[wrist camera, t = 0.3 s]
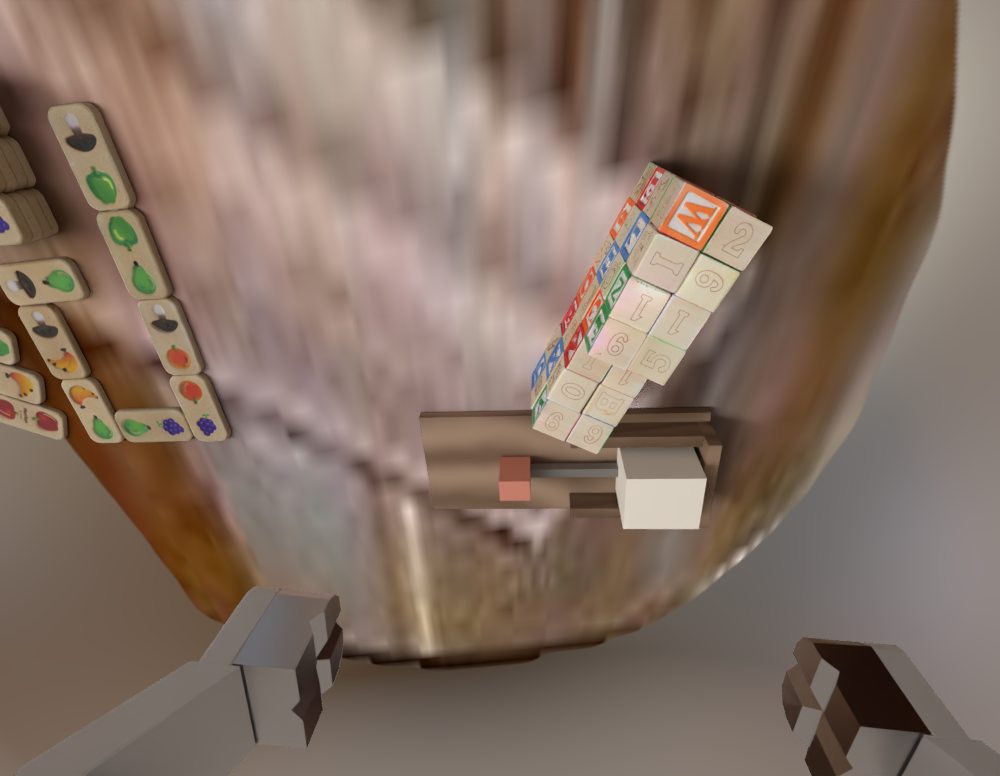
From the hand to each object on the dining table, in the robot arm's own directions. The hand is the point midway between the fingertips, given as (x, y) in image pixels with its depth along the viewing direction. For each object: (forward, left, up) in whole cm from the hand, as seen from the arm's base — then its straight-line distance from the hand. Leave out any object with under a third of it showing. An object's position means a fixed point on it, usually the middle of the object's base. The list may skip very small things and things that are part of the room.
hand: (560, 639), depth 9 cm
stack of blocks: (+7, +6, -40) cm, 41 cm away
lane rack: (+25, +1, -39) cm, 47 cm away
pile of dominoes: (+5, -48, -40) cm, 63 cm away
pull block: (+25, +5, -38) cm, 46 cm away
